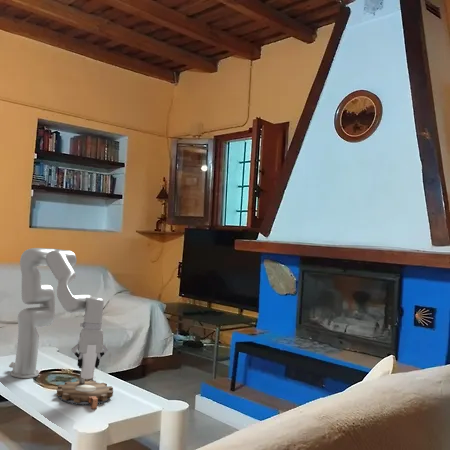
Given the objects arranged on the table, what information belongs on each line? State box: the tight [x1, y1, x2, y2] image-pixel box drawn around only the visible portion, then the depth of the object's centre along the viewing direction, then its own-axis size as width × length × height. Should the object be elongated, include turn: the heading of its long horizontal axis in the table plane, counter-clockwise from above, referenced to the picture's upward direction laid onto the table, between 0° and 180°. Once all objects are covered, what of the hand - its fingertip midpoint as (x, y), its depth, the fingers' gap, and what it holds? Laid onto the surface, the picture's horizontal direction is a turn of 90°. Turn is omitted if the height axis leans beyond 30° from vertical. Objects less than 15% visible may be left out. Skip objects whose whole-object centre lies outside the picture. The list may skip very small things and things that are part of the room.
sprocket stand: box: [57, 395, 112, 410], centre depth 225 cm, size 24×22×4 cm
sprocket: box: [56, 371, 114, 403], centre depth 226 cm, size 24×24×7 cm
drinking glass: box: [80, 345, 97, 380], centre depth 226 cm, size 7×7×15 cm
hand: (88, 367), depth 226 cm, fingers closed on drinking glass, 6 cm apart
